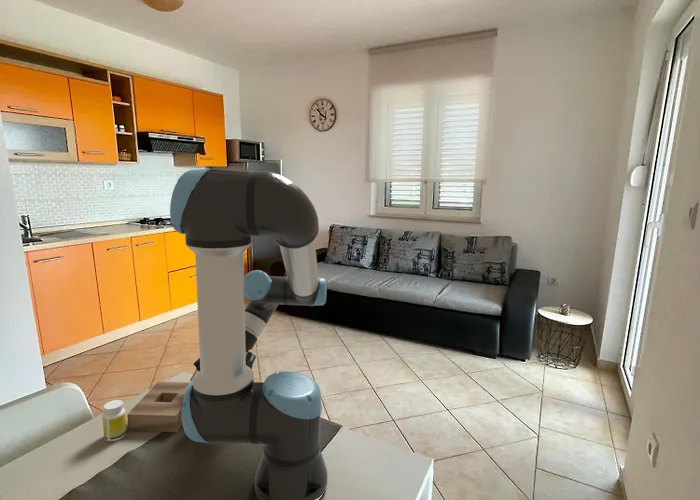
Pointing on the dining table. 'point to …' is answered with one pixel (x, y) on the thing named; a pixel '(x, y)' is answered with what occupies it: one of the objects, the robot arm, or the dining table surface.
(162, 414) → the walnut block
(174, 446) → the dining table surface
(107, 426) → the supplement bottle
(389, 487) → the dining table surface
